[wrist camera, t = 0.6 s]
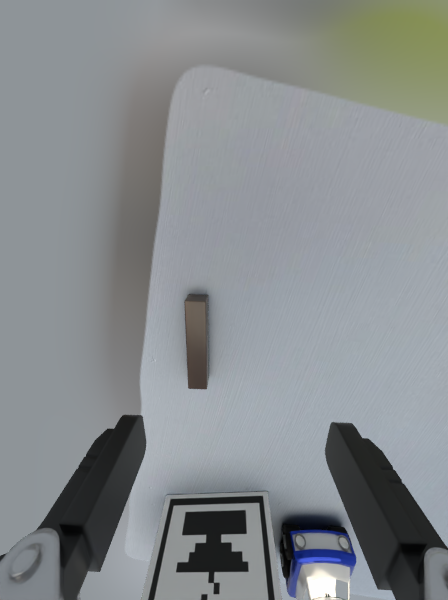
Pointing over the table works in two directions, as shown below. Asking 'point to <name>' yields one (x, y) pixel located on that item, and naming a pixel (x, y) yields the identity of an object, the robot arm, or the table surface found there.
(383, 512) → the robot arm
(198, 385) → the stick
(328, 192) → the table surface
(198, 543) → the block
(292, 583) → the toy car
